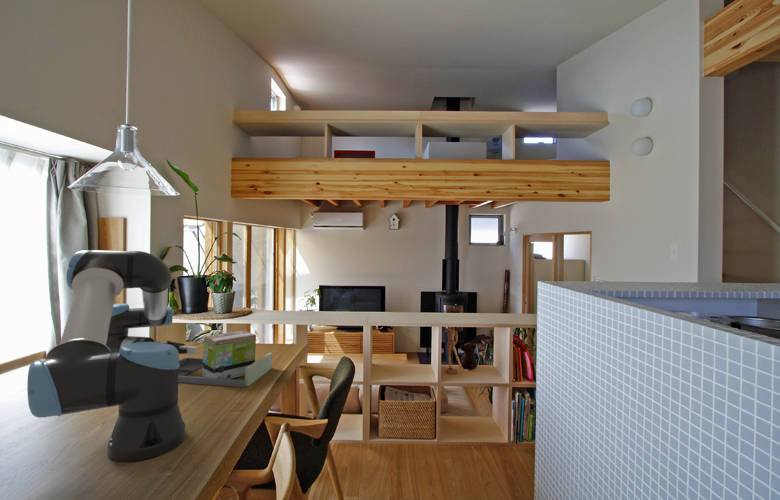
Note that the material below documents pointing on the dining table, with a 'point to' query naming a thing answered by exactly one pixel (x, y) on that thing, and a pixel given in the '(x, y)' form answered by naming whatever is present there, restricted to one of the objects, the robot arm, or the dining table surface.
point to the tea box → (228, 354)
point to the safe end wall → (258, 369)
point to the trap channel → (195, 364)
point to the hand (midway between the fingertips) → (196, 350)
